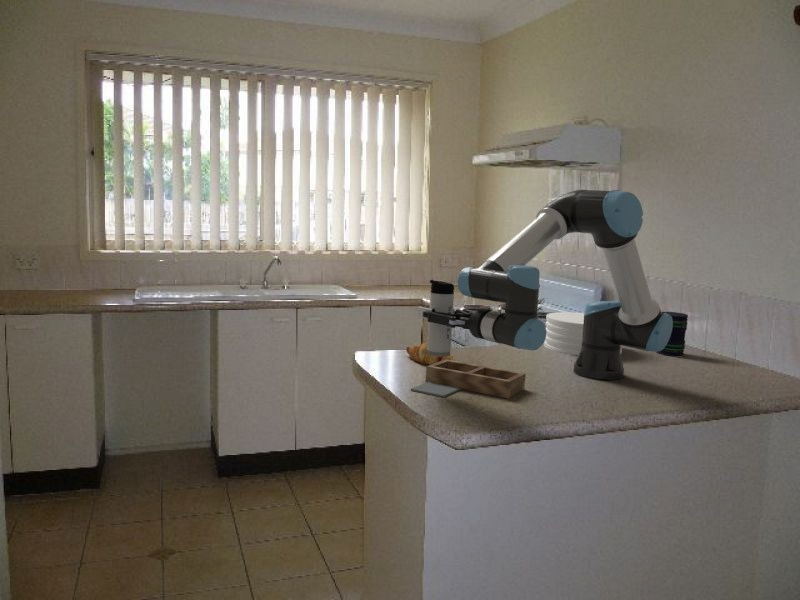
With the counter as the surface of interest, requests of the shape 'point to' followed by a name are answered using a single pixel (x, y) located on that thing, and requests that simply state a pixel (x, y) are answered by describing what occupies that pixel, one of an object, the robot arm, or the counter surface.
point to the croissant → (425, 354)
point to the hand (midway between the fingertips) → (428, 311)
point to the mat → (436, 389)
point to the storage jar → (676, 335)
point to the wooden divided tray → (476, 378)
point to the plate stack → (565, 332)
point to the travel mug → (436, 332)
